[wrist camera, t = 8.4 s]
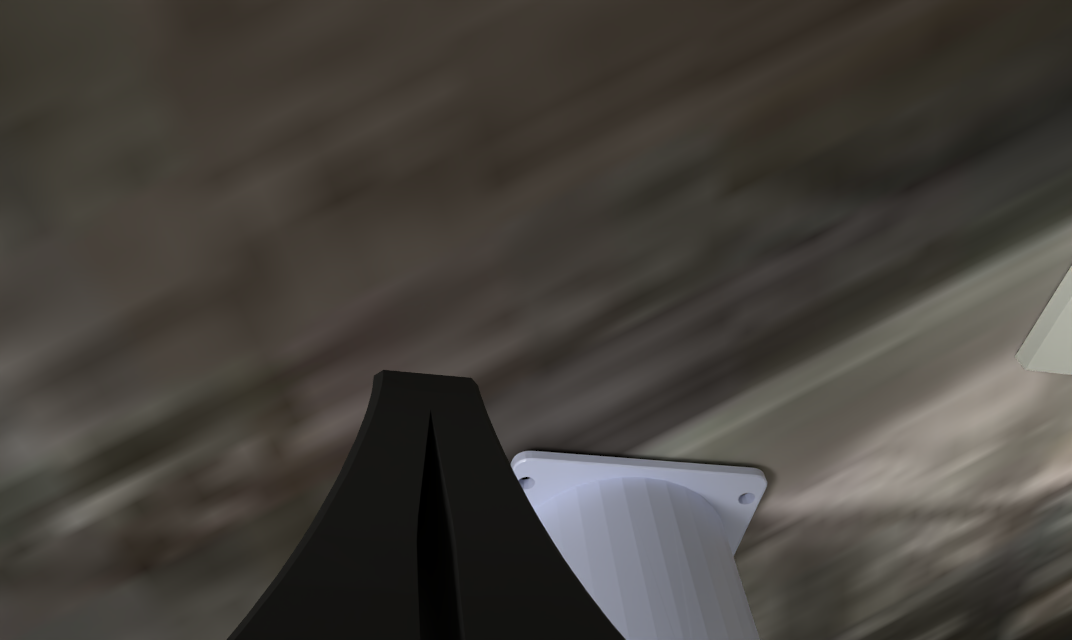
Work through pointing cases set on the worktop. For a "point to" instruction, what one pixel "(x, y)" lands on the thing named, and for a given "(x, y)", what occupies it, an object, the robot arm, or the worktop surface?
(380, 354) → the worktop surface
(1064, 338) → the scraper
